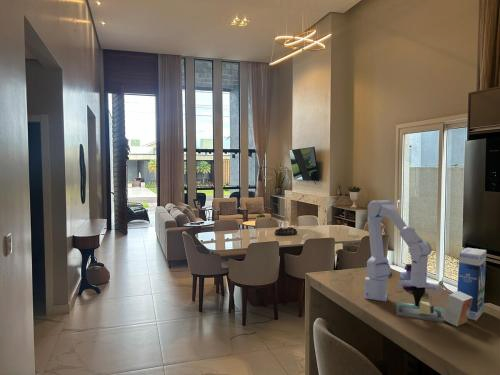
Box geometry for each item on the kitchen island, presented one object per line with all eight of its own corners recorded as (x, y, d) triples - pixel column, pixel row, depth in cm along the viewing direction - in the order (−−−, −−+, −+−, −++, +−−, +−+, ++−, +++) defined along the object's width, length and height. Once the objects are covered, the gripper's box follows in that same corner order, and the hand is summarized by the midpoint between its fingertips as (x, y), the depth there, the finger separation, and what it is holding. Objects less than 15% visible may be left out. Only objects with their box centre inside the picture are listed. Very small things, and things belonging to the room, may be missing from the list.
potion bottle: (395, 287, 178) (396, 263, 178) (407, 284, 182) (408, 261, 182) (410, 292, 171) (411, 267, 170) (422, 290, 175) (423, 265, 174)
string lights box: (476, 321, 140) (480, 255, 138) (454, 315, 145) (458, 251, 144) (483, 311, 150) (487, 249, 148) (462, 306, 155) (466, 246, 153)
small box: (457, 327, 134) (463, 301, 132) (442, 319, 139) (448, 294, 137) (467, 322, 139) (473, 297, 137) (452, 314, 143) (458, 290, 141)
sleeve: (419, 313, 143) (419, 304, 143) (418, 309, 147) (419, 301, 146) (429, 314, 142) (430, 305, 142) (428, 311, 145) (429, 302, 145)
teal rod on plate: (396, 315, 144) (396, 303, 144) (395, 308, 152) (396, 296, 151) (444, 322, 138) (445, 310, 138) (441, 314, 146) (442, 302, 145)
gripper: (399, 272, 143) (397, 305, 144) (440, 277, 138) (438, 312, 139) (399, 267, 150) (397, 299, 150) (438, 272, 144) (436, 305, 145)
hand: (417, 305), depth 145 cm, fingers closed, pressing on teal rod on plate
